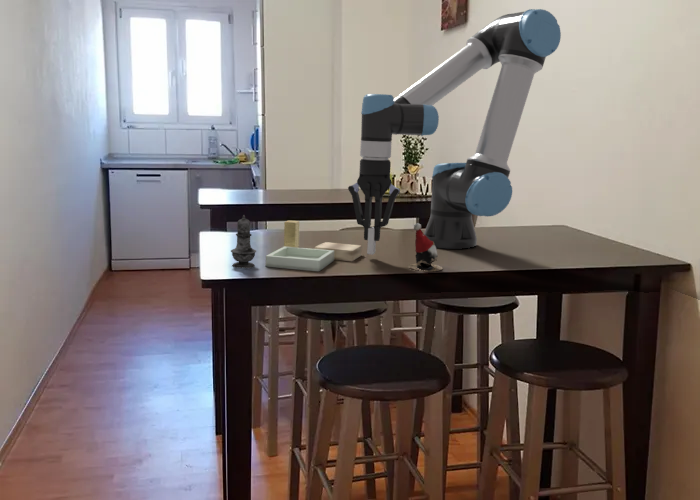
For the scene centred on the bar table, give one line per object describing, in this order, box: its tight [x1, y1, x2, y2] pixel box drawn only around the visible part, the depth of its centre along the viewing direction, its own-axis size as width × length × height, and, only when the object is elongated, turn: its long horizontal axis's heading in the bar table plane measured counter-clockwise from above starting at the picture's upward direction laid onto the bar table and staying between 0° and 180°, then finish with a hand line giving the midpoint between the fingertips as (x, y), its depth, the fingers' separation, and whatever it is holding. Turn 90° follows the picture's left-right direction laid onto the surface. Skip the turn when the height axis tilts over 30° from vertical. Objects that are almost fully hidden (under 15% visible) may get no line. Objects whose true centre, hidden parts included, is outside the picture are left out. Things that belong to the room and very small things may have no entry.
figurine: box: [407, 222, 443, 273], centre depth 168 cm, size 8×10×12 cm
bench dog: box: [283, 220, 300, 248], centre depth 182 cm, size 3×3×8 cm
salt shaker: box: [230, 214, 257, 269], centre depth 164 cm, size 6×6×12 cm
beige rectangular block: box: [313, 241, 363, 262], centre depth 179 cm, size 10×8×3 cm
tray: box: [265, 245, 335, 272], centre depth 169 cm, size 13×13×2 cm
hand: (371, 253), depth 177 cm, fingers closed
